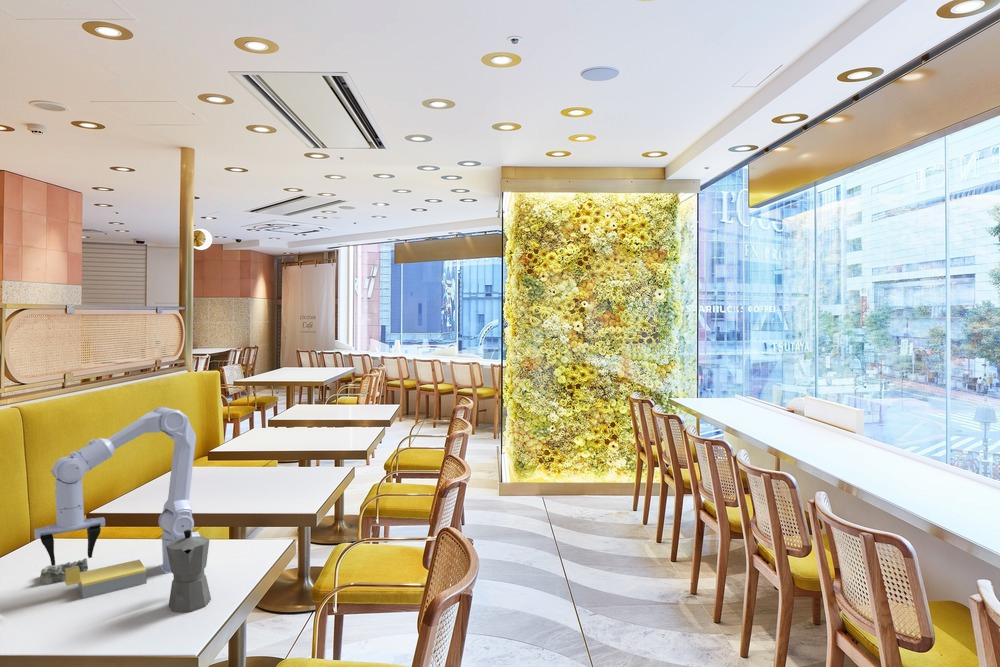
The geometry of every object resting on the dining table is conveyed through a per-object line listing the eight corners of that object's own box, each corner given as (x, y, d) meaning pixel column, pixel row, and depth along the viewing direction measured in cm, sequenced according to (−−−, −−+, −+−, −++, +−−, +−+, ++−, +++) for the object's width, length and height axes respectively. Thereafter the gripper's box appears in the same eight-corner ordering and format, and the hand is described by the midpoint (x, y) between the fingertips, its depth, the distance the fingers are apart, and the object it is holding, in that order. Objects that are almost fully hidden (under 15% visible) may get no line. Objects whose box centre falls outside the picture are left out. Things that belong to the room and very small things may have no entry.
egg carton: (39, 589, 170) (38, 573, 170) (41, 579, 176) (40, 564, 176) (88, 579, 176) (87, 564, 175) (88, 570, 182) (88, 555, 182)
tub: (139, 574, 178) (139, 561, 178) (146, 585, 171) (146, 571, 170) (78, 588, 169) (77, 575, 169) (82, 600, 162) (82, 586, 162)
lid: (139, 563, 178) (139, 549, 177) (146, 573, 170) (145, 558, 170) (63, 580, 167) (63, 565, 167) (67, 591, 160) (67, 575, 160)
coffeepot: (212, 611, 155) (209, 535, 154) (167, 620, 151) (164, 541, 150) (210, 587, 169) (208, 517, 168) (169, 594, 165) (166, 522, 164)
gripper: (101, 497, 171) (103, 549, 172) (32, 508, 162) (34, 563, 163) (105, 503, 166) (107, 556, 166) (34, 514, 157) (37, 571, 157)
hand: (71, 560), depth 164 cm, fingers open, 7 cm apart
